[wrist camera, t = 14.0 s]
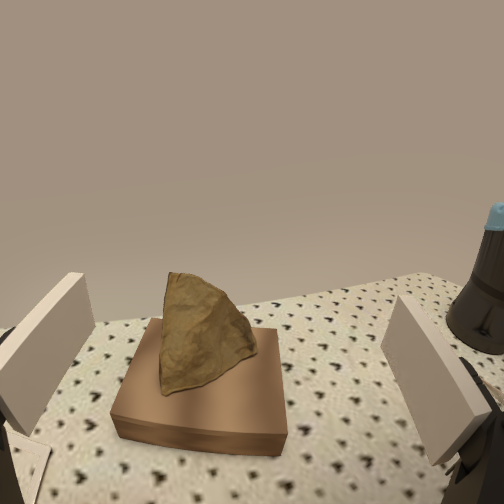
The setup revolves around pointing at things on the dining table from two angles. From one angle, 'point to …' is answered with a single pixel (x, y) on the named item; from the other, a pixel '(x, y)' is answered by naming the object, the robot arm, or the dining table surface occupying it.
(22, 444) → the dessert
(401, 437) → the dining table surface
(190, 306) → the rock
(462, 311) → the robot arm
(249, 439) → the plinth
